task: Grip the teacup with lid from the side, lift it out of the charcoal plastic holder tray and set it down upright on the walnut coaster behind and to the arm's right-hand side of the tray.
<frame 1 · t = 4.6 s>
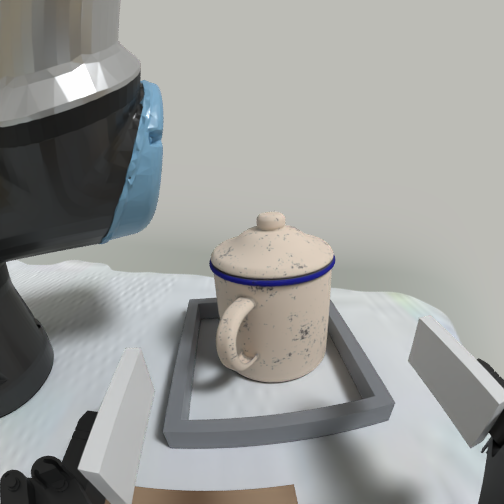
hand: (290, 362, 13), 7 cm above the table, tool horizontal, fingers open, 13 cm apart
teacup with lid: (267, 362, 24), resting in holder tray
holder tray: (267, 360, 23), on the table
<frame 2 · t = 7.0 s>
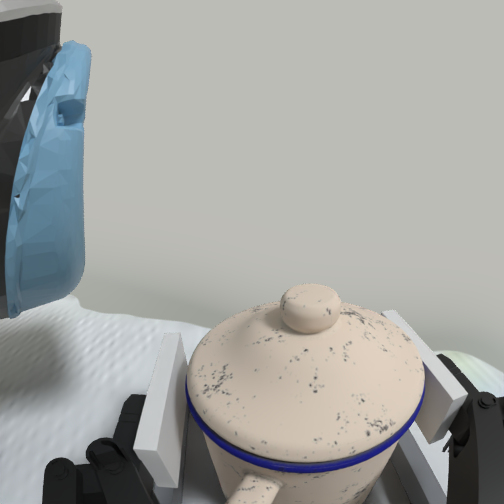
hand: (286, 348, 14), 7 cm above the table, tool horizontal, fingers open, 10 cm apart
teacup with lid: (288, 493, 12), resting in holder tray, touching gripper
holder tray: (293, 492, 12), on the table
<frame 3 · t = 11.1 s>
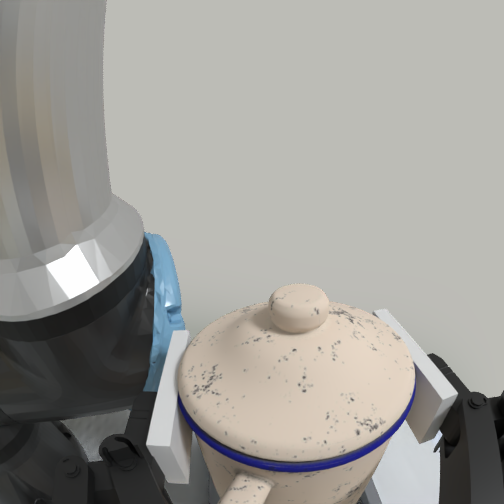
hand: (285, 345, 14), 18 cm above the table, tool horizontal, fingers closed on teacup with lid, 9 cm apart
teacup with lid: (282, 492, 12), point 11 cm above the table, touching gripper
holder tray: (285, 470, 23), on the table
when the fingers open (9 cm above the table, at t = 14.7 s): teacup with lid drops 1 cm, resting on walnut coaster.
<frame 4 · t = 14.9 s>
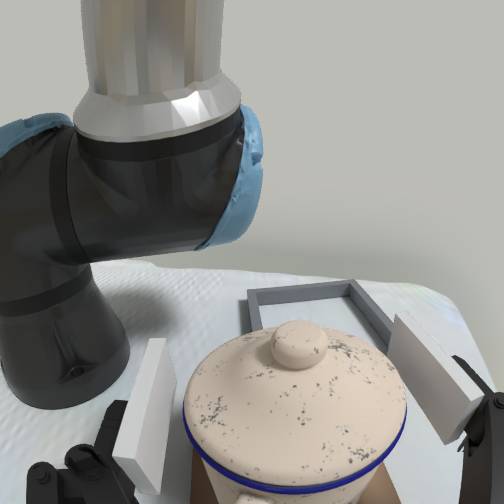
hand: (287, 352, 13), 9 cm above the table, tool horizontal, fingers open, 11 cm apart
teacup with lid: (280, 503, 13), resting on walnut coaster
holder tray: (320, 334, 30), on the table
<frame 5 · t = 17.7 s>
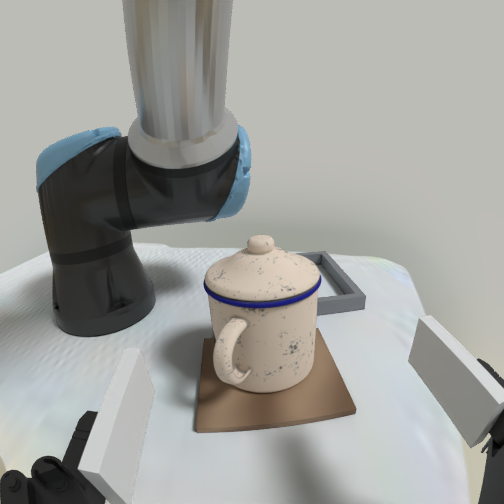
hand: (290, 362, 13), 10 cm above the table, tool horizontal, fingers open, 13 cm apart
teacup with lid: (259, 373, 25), resting on walnut coaster
walnut coaster: (269, 376, 25), on the table
holder tray: (295, 286, 42), on the table
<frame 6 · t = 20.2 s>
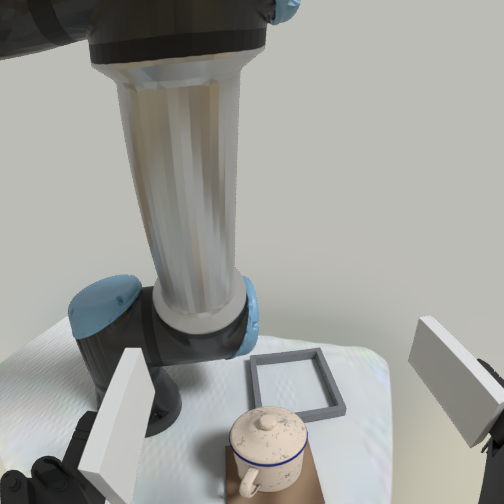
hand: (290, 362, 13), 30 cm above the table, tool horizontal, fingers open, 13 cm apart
teacup with lid: (265, 476, 32), resting on walnut coaster
walnut coaster: (271, 477, 32), on the table
holder tray: (293, 387, 49), on the table
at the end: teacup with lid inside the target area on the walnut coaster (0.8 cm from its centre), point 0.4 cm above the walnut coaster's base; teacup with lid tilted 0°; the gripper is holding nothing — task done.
